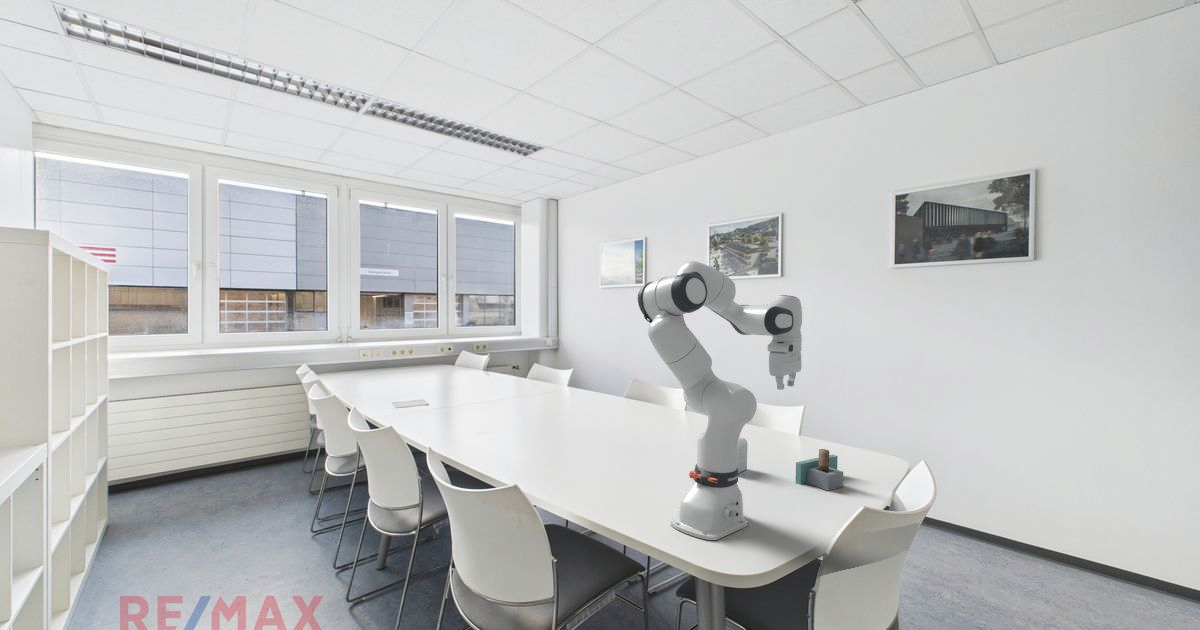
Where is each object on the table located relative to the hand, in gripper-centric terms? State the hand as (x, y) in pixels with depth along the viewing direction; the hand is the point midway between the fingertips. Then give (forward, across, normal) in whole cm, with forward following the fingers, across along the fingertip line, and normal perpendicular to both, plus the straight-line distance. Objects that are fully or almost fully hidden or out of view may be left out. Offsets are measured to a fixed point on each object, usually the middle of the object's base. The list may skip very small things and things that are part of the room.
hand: (785, 387), depth 153 cm
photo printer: (+34, -8, -20) cm, 40 cm away
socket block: (+34, -16, +8) cm, 38 cm away
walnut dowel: (+32, -16, +8) cm, 37 cm away
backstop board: (+34, -20, +5) cm, 40 cm away
